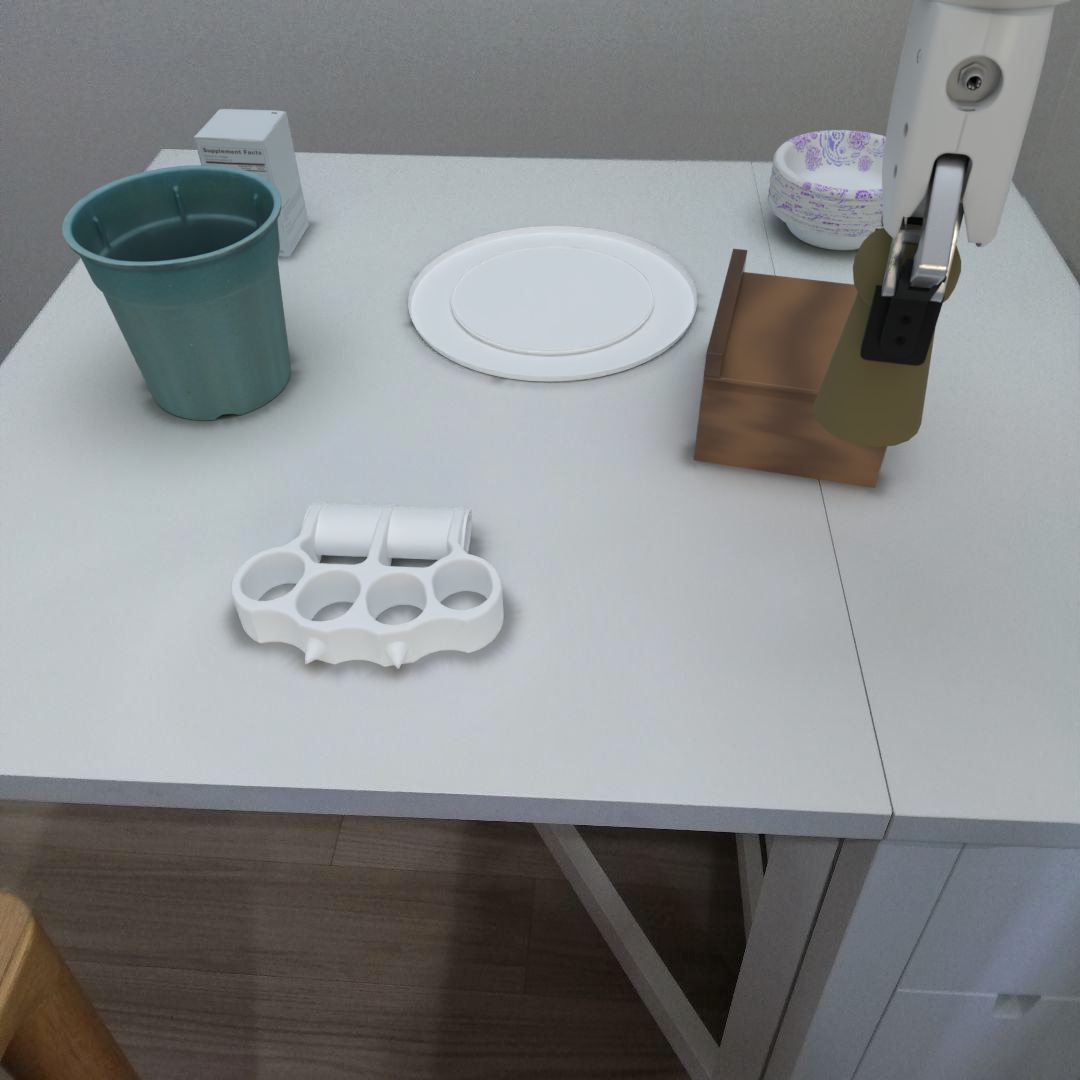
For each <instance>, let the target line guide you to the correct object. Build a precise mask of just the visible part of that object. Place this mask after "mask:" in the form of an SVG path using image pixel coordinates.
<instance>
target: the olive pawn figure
mask: <svg viewBox="0 0 1080 1080" xmlns="http://www.w3.org/2000/svg"><path fill="white" fill-rule="evenodd" d="M906 227H910V228H921V229H922V226H919V225H911V224H907V225H906ZM891 243H892V237H891V236H890V235H889V234H888V233H887V231H886V230H885V229H884V228H880V229H878V230H876V231H874V232H873V233H871V234H870V235H869V236H868V237H867V238H866V239H865V240H864V241H863V243H862V244H861V246H860V248H859V249H857V252H856V254H855V256H854V261H853V264H852V278H853V284H854V286H855V288H856V290H857V292H858V293H857V296H856V298H855V301H854V304H853V306H852V309H851V311H850V314H849V316H848V319H847V321H846V324H845V326H844V329H843V331H842V334H841V337H840V339H839V342H838V344H837V347H836V349H835V352H834V354H833V357H832V359H831V362H830V364H829V367H828V370H827V372H826V375H825V377H824V380H823V382H822V385H821V387H820V390H819V392H818V395H817V397H816V400H815V402H814V415H815V417H816V419H817V420H818V422H819V424H820V425H821V426H822V427H823V428H825V429H826V430H827V431H828V432H829V433H830V434H832V435H834V436H836V437H838V438H840V439H842V440H844V441H847V442H851V443H854V444H858V445H861V446H871V447H885V446H887V447H894V446H898V445H900V444H903V443H905V442H908V441H910V440H911V439H912V438H914V437H915V436H916V435H917V434H918V432H919V430H920V428H921V425H922V420H923V414H924V407H925V400H926V393H927V387H928V379H929V375H930V374H929V373H930V367H931V361H932V353H933V347H934V339H935V333H936V327H937V326H936V327H935V330H934V333H933V337H932V340H931V343H930V346H929V350H928V353H927V356H926V359H925V362H924V363H923V364H921V365H919V366H912V365H904V364H895V363H886V362H878V361H869V360H864V359H862V357H861V355H860V347H861V343H862V339H863V335H864V331H865V327H866V323H867V319H868V315H869V311H870V307H871V303H872V299H873V295H874V291H875V287H876V285H881V286H882V285H883V280H884V275H885V271H886V266H887V261H888V257H889V252H890V247H891ZM917 249H918V245H913V244H906V245H905V249H904V254H903V258H902V263H901V265H903V264H904V262H905V261H906V259H907V258H909V259H914V255H915V254H916V252H917ZM961 273H962V258H961V255H960V251H959V249H958V246H957V245H956V248H955V252H954V256H953V260H952V264H951V268H950V272H949V276H948V280H947V285H946V289H945V293H944V296H945V297H944V301H943V303H945V302H946V301H948V300H949V299H950V297H951V295H952V294H953V292H954V291H955V289H956V286H957V284H958V283H959V279H960V276H961Z"/></svg>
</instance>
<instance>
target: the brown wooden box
mask: <svg viewBox="0 0 1080 1080" xmlns="http://www.w3.org/2000/svg"><path fill="white" fill-rule="evenodd" d="M747 257H748V249H741V248H732V252H731V256H730V260H729V263H728V267H727V271H726V275H725V279H724V282H723V286H722V290H721V294H720V298H719V302H718V307H717V310H716V313H715V318H714V322H713V326H712V329H711V333H710V337H709V340H708V344H707V348H706V353H705V361H704V369H703V376H702V377H703V378H702V385H701V393H700V394H701V395H700V401H699V402H700V403H699V409H698V410H699V411H698V418H697V426H696V435H695V443H694V452H693V461H695V462H701V463H702V462H703V463H708V464H716V465H722V466H729V467H735V468H741V469H749V470H755V471H761V472H768V473H773V474H780V475H787V476H794V477H801V478H806V479H807V478H808V479H812V480H813V479H814V480H821V481H825V482H826V481H828V482H833V483H840V484H846V485H854V486H859V487H866V488H872V489H874V488H876V486H877V482H878V479H879V475H880V472H881V469H882V465H883V463H884V459H885V455H886V452H887V449H888V446H885V447H871V446H861V445H858V444H854V443H851V442H847V441H844V440H842V439H840V438H838V437H836V436H834V435H832V434H830V433H829V432H828V431H827V430H826V429H825V428H823V427H822V426H821V425H820V424H819V422H818V420H817V419H816V417H815V415H814V402H815V400H816V397H817V395H818V392H819V390H820V387H821V385H822V382H823V380H824V377H825V375H826V372H827V370H828V367H829V364H830V362H831V359H832V357H833V354H834V352H835V349H836V347H837V344H838V342H839V339H840V337H841V334H842V331H843V329H844V326H845V324H846V321H847V319H848V316H849V314H850V311H851V309H852V306H853V304H854V301H855V298H856V296H857V293H858V292H857V290H856V288H855V286H854V283H844V282H835V281H827V280H820V279H819V280H818V279H809V278H800V277H793V276H792V277H791V276H783V275H774V274H767V273H766V274H765V273H757V272H748V271H746V264H747Z"/></svg>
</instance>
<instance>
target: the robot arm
mask: <svg viewBox="0 0 1080 1080" xmlns="http://www.w3.org/2000/svg"><path fill="white" fill-rule="evenodd" d="M1071 1H1072V0H913V2H912V7H911V12H910V15H909V19H908V23H907V28H906V33H905V38H904V42H903V45H902V51H901V55H900V59H899V64H898V69H897V74H896V77H895V81H894V88H893V92H892V97H891V104H890V108H889V114H888V119H887V126H886V131H885V136H886V139H885V146H884V155H883V164H882V209H883V212H882V217H881V227H884V229H885V230H886V231H887V233H888V234H889V235H890V236H891V237H892V243H891V247H890V252H889V257H888V261H887V266H886V271H885V275H884V280H883V285H882V286H881V285H876V287H875V291H874V295H873V299H872V303H871V307H870V311H869V315H868V319H867V323H866V327H865V331H864V335H863V339H862V343H861V347H860V355H861V357H862V359H864V360H869V361H878V362H886V363H895V364H904V365H912V366H919V365H921V364H923V363H924V362H925V359H926V356H927V353H928V350H929V346H930V343H931V340H932V337H933V333H934V330H935V331H936V328H935V327H937V323H938V320H939V317H940V313H941V311H942V307H943V304H944V302H943V301H944V297H945V296H944V293H945V289H946V285H947V280H948V276H949V272H950V268H951V264H952V260H953V256H954V252H955V248H956V246H957V243H958V241H959V235H960V231H961V226H962V222H963V219H964V223H965V224H964V225H965V231H966V238H967V243H969V244H975V246H976V247H978V248H984V247H986V246H988V245H989V244H991V243H992V242H993V241H994V240H995V238H996V237H997V233H998V229H999V227H1000V223H1001V220H1002V216H1003V212H1004V209H1005V206H1006V202H1007V198H1008V195H1009V191H1010V188H1011V185H1012V180H1013V177H1014V173H1015V170H1016V166H1017V164H1018V160H1019V156H1020V153H1021V149H1022V145H1023V142H1024V139H1025V135H1026V131H1027V128H1028V124H1029V120H1030V117H1031V114H1032V110H1033V107H1034V104H1035V103H1034V102H1035V99H1036V95H1037V92H1038V87H1039V82H1040V79H1041V75H1042V70H1043V67H1044V62H1045V58H1046V54H1047V53H1046V52H1047V49H1048V44H1049V39H1050V34H1051V29H1052V23H1053V17H1054V12H1055V7H1056V6H1058V5H1062V4H1065V3H1067V2H1071ZM907 224H911V225H919V226H922V229H921V228H910V227H906V225H907ZM876 230H878V229H875V231H876ZM906 244H913V245H918V249H917V252H916V254H915V255H914V259H909V258H907V259H906V261H905V262H904V264H903V265H901V263H902V258H903V254H904V249H905V245H906Z"/></svg>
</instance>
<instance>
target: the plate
mask: <svg viewBox="0 0 1080 1080" xmlns="http://www.w3.org/2000/svg"><path fill="white" fill-rule="evenodd" d="M415 277H416V278H415V279H414V281H413V282H412V283H411V286H410V289H409V292H408V297H407V308H408V314H409V317H410V320H411V322H412V323H413V326H414V328H415V330H416V332H417V333H418V334H419V336H420V337H421V338H422V339H423V341H424V342H425V343H426V344H427V345H428V346H429V347H431V348H432V349H433V350H435V352H437V353H438V354H440V355H441V356H443V357H444V358H447V359H448V360H450V361H451V362H454V363H456V364H458V365H461V366H463V367H464V368H467V369H470V370H473V371H476V372H480V373H482V374H486V375H491V376H495V377H499V378H503V379H504V378H506V379H511V380H518V381H526V382H529V381H530V382H545V383H548V382H549V383H550V382H552V383H553V382H573V381H582V380H589V379H595V378H600V377H601V378H602V377H605V376H610V375H613V374H617V373H620V372H624V371H628V370H630V369H634V368H636V367H638V366H640V365H643V364H645V363H647V362H649V361H651V360H653V359H655V358H656V357H658V356H660V355H661V354H663V353H665V352H667V350H669V349H671V347H673V346H675V344H676V343H677V342H678V341H680V339H681V338H682V337H683V336H684V335H685V333H686V332H687V330H688V329H689V327H690V325H691V324H692V321H693V319H694V316H695V314H696V311H697V307H698V293H697V289H696V285H695V283H694V280H693V279H692V277H691V275H690V274H689V272H688V271H687V269H685V267H683V265H682V264H681V263H679V261H677V260H676V259H675V258H673V257H672V256H671V255H669V254H668V253H667V252H665V251H663V250H661V249H660V248H659V247H656V246H654V245H652V244H650V243H648V242H645V241H643V240H641V239H638V238H636V237H633V236H629V235H626V234H624V233H623V234H622V233H619V232H615V231H611V230H605V229H601V228H600V229H599V228H592V227H587V226H586V227H583V226H573V225H540V226H538V225H537V226H527V227H526V226H525V227H519V228H511V229H506V230H501V231H496V232H493V233H488V234H485V235H481V236H478V237H475V238H472V239H470V240H467V241H465V242H462V243H460V244H457V245H456V246H454V247H452V248H450V249H448V250H446V251H444V252H442V253H441V254H440V255H438V256H437V257H435V258H434V259H433V260H431V261H430V262H429V263H428V264H426V265H425V266H424V267H423V268H422V269H421V270H420V272H419V273H418V274H417V276H415Z"/></svg>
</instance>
